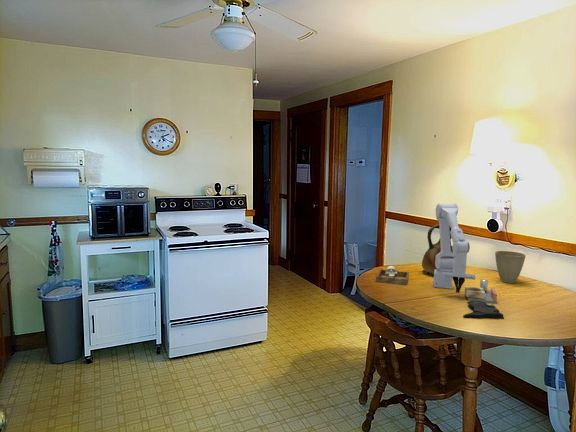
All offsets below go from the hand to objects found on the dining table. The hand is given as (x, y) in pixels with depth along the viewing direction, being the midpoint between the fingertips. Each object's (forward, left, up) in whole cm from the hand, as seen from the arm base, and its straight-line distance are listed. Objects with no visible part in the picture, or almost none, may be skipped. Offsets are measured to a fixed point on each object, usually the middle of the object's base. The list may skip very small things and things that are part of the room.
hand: (457, 292), depth 197 cm
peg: (+13, +9, -1) cm, 15 cm away
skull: (-33, +18, -2) cm, 38 cm away
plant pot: (+29, +39, -2) cm, 48 cm away
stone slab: (+8, -18, -3) cm, 20 cm away
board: (+11, +4, -2) cm, 12 cm away
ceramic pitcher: (-7, +41, -2) cm, 42 cm away
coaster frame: (-32, +18, -2) cm, 37 cm away
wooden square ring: (+8, 0, -1) cm, 8 cm away
